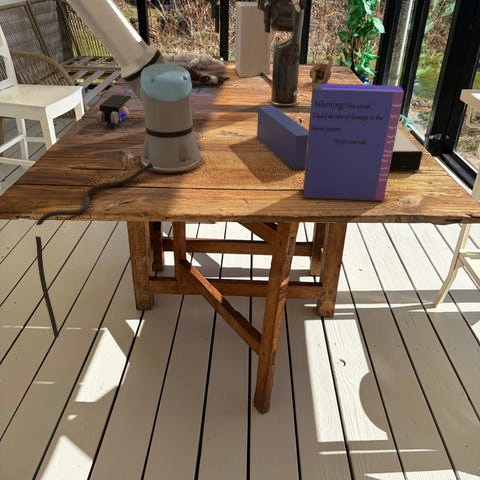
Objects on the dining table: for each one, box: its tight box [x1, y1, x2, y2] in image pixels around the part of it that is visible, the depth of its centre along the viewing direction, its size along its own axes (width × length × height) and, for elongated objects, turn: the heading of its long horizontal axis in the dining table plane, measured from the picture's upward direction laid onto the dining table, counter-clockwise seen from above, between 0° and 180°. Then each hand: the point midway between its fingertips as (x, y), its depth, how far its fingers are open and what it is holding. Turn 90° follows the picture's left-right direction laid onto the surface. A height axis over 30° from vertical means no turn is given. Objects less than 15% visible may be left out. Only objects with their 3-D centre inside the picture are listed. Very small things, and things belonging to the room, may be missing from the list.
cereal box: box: [302, 83, 405, 202], centre depth 102 cm, size 17×5×24 cm, turn 86°
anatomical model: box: [309, 55, 334, 84], centre depth 196 cm, size 13×9×15 cm
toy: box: [161, 51, 226, 69], centre depth 223 cm, size 24×25×7 cm
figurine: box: [175, 63, 231, 85], centre depth 194 cm, size 24×8×30 cm
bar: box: [256, 105, 309, 171], centre depth 129 cm, size 26×5×9 cm, turn 19°
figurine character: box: [95, 94, 132, 130], centre depth 148 cm, size 7×8×15 cm
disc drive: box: [389, 127, 424, 172], centre depth 128 cm, size 18×22×5 cm
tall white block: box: [234, 1, 273, 78], centre depth 210 cm, size 19×15×28 cm
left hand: (242, 32), depth 126 cm, fingers open, 13 cm apart
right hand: (280, 26), depth 140 cm, fingers open, 8 cm apart
